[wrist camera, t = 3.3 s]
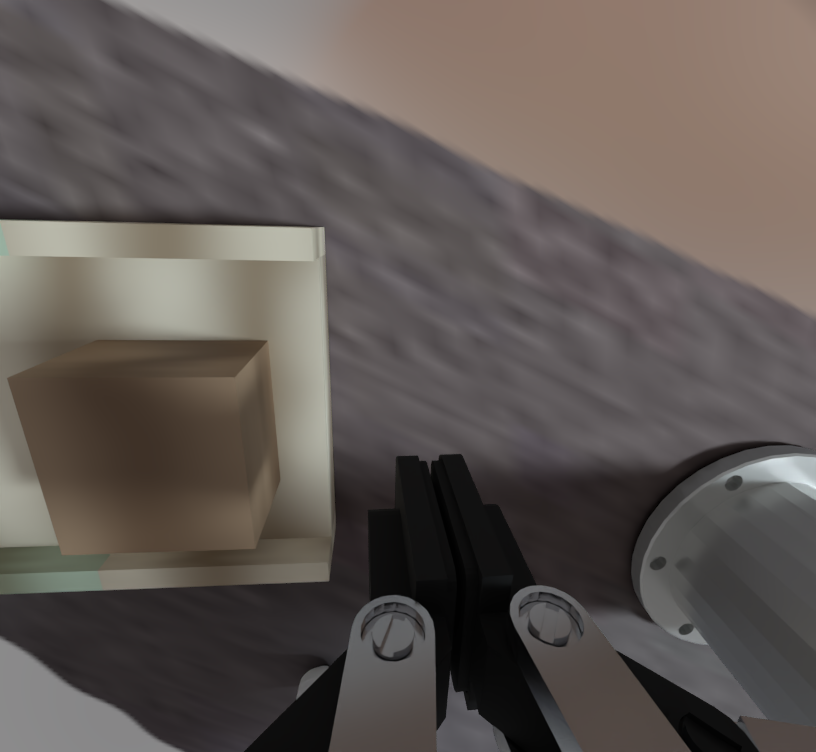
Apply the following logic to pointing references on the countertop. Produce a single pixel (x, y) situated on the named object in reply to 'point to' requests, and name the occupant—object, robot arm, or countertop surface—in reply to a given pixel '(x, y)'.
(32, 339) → the trap lane
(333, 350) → the countertop surface
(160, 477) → the walnut block
